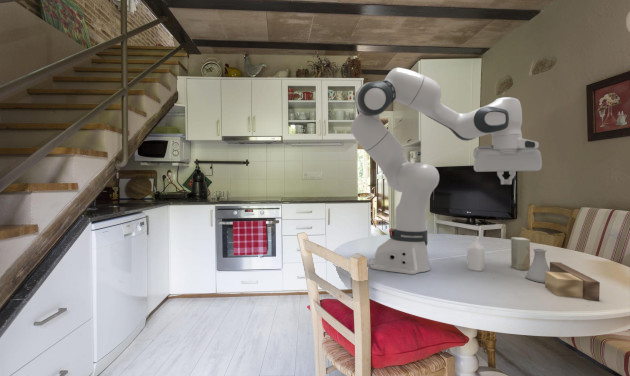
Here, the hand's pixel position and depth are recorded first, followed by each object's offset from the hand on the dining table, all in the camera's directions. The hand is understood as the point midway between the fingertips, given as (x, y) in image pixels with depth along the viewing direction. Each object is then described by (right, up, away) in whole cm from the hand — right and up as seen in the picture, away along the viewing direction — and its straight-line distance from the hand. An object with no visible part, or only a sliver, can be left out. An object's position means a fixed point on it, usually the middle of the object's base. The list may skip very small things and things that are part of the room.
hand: (506, 184), depth 103 cm
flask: (+6, -32, -7) cm, 33 cm away
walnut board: (+11, -31, -14) cm, 36 cm away
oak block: (+5, -32, -18) cm, 37 cm away
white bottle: (-8, -31, +5) cm, 33 cm away
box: (+9, -31, +6) cm, 33 cm away
